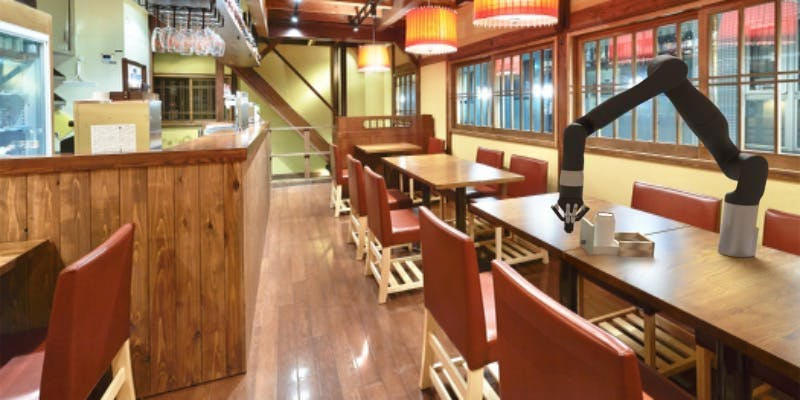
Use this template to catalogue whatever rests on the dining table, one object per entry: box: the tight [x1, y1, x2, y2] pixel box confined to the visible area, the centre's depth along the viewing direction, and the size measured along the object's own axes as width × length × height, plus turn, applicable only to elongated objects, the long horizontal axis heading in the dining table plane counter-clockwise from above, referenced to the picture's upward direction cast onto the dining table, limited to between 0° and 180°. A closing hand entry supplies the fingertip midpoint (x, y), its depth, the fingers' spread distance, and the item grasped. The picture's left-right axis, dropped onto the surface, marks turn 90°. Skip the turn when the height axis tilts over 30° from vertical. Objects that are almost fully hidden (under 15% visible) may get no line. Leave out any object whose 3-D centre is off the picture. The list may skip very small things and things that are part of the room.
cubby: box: [614, 231, 656, 258], centre depth 156 cm, size 11×13×5 cm
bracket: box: [579, 216, 619, 256], centre depth 156 cm, size 12×12×10 cm
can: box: [593, 211, 617, 246], centre depth 156 cm, size 6×6×12 cm
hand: (568, 232), depth 157 cm, fingers closed
